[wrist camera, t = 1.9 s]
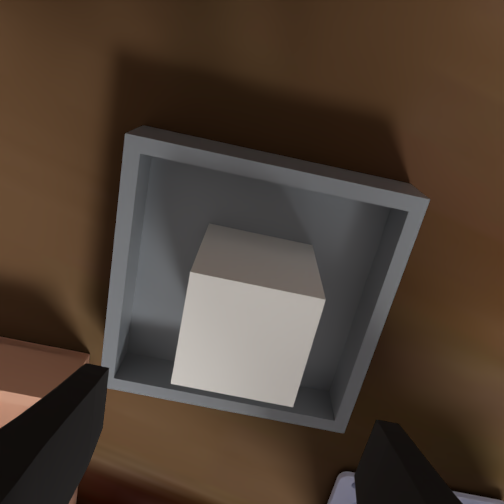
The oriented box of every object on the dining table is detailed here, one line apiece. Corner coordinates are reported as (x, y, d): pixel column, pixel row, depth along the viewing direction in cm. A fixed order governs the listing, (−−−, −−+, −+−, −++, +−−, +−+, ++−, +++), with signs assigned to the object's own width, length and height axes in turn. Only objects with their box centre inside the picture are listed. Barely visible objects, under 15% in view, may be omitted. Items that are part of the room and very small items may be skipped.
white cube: (312, 245, 20) (325, 299, 15) (287, 333, 21) (292, 407, 17) (209, 223, 19) (190, 271, 15) (192, 314, 21) (170, 383, 16)
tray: (410, 183, 19) (430, 199, 17) (336, 396, 23) (343, 433, 21) (143, 125, 18) (124, 133, 16) (116, 354, 23) (99, 386, 20)
